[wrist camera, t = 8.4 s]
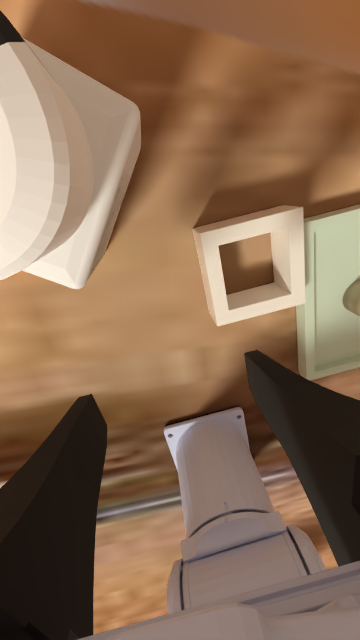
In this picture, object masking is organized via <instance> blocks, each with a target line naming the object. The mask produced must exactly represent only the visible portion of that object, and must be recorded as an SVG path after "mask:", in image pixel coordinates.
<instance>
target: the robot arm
mask: <svg viewBox="0 0 360 640" xmlns="http://www.w3.org/2000/svg"><path fill="white" fill-rule="evenodd" d="M244 354H245V361H246V368H247V375H248V382H249V388H250V390H251V392H252V395H253V397H254V399H255V401H256V403H257V406H258V407H259V409H260V411H261V412H262V414H263V416H264V417H265V419H266V421H267V422H268V424H269V426H270V427H271V429H272V431H273V432H274V434H275V435H276V437H277V439H278V440H279V442H280V444H281V445H282V447H283V449H284V450H285V452H286V454H287V456H288V457H289V459H290V461H291V464H292V466H293V468H294V470H295V472H296V474H297V476H298V478H299V480H300V482H301V484H302V486H303V488H304V491H305V493H306V495H307V497H308V499H309V501H310V503H311V505H312V508H313V510H314V512H315V514H316V516H317V519H318V521H319V523H320V525H321V527H322V530H323V532H324V534H325V536H326V539H327V541H328V543H329V545H330V548H331V550H332V552H333V555H334V557H335V559H336V562H337V564H338V566H339V567H335V568H332V569H328V570H326V568H325V565H324V563H323V561H322V559H321V557H320V556H319V554H318V552H317V550H316V548H315V546H314V544H313V543H312V541H311V539H310V538H309V536H308V535H307V534H306V533H305V532H303V531H302V530H300V529H298V527H297V526H295V525H294V524H292V525H289V526H286V527H285V525H284V522H283V520H282V518H281V515H280V513H279V512H278V511H276V512H275V510H274V508H273V506H272V503H271V501H270V498H269V496H268V494H267V491H266V489H265V486H264V484H263V482H262V479H261V477H260V474H259V472H258V470H257V467H256V465H255V462H254V460H253V458H252V455H251V453H250V448H249V442H248V436H247V430H246V424H245V418H244V413H243V410H242V408H241V407H236V408H232V409H228V410H225V411H221V412H217V413H214V414H210V415H206V416H202V417H199V418H195V419H191V420H188V421H184V422H180V423H176V424H173V425H169V426H166V427H165V428H164V435H165V437H166V440H167V443H168V446H169V448H170V451H171V454H172V457H173V459H174V462H175V465H176V468H177V470H178V476H179V483H180V491H181V499H182V507H183V515H184V523H185V531H186V540H183V541H181V549H182V558H183V559H181V560H177V561H175V563H174V565H173V568H172V571H171V573H170V576H169V579H168V584H167V615H163V616H160V617H156V618H153V619H149V620H145V621H142V622H138V623H135V624H131V625H127V626H124V627H120V628H117V629H113V630H110V631H106V632H102V633H99V634H95V635H93V582H94V551H95V531H96V516H97V505H98V498H99V492H100V485H101V479H102V473H103V467H104V461H105V455H106V448H107V424H106V422H105V420H104V418H103V416H102V414H101V412H100V410H99V408H98V406H97V404H96V402H95V400H94V398H93V395H92V394H90V395H86V396H82V397H79V398H78V399H77V400H76V401H75V403H74V404H73V405H72V406H71V408H70V409H69V410H68V412H67V413H66V414H65V416H64V417H63V418H62V420H61V421H60V422H59V423H58V425H57V426H56V427H55V429H54V430H53V431H52V433H51V434H50V435H49V436H48V437H47V439H46V440H45V441H44V442H43V443H42V445H41V446H40V447H39V448H38V449H37V451H36V452H35V453H34V454H33V455H32V456H31V458H30V459H29V460H28V461H27V462H26V463H25V464H24V465H23V466H22V467H21V468H20V469H19V470H18V471H17V473H16V474H15V475H14V476H13V477H12V478H11V479H10V480H9V481H8V482H7V483H5V484H4V485H3V486H2V487H1V488H0V640H360V400H357V399H354V398H351V397H348V396H345V395H342V394H340V393H337V392H334V391H332V390H330V389H327V388H325V387H322V386H320V385H318V384H316V383H314V382H312V381H310V380H308V379H306V378H304V377H302V376H300V375H298V374H296V373H294V372H292V371H291V370H289V369H287V368H285V367H284V366H282V365H280V364H279V363H277V362H276V361H274V360H272V359H271V358H269V357H268V356H266V355H265V354H263V353H261V352H260V351H258V350H255V351H251V352H247V353H244ZM238 415H240V416H238ZM169 434H170V435H169Z"/></svg>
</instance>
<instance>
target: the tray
mask: <svg viewBox="0 0 360 640" xmlns="http://www.w3.org/2000/svg"><path fill="white" fill-rule="evenodd" d="M303 220H304V261H305V302H306V303H304V304H300V305H297V306H296V319H297V343H298V367H299V373H300V374H301V376H302V377H304V378H306V379H308V380H310V381H311V380H314V379H318V378H322V377H326V376H329V375H333V374H337V373H340V372H344V371H348V370H352V369H355V368H359V367H360V317H359V316H358V315H356V314H354V313H352V312H350V311H349V310H347V309H346V308H345V307H344V305H343V295H344V293H345V291H346V289H347V288H348V287H349V286H350V285H351V284H352V283H354V282H355V281H357V280H360V204H358V205H355V206H351V207H347V208H343V209H339V210H335V211H332V212H328V213H324V214H320V215H316V216H312V217H308V218H305V219H303Z"/></svg>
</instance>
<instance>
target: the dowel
mask: <svg viewBox="0 0 360 640" xmlns="http://www.w3.org/2000/svg"><path fill="white" fill-rule="evenodd" d="M343 305H344V307H345V308H346V309H347V310H349V311H350V312H352V313H354V314H356V315H358V316H359V317H360V280H357V281H355V282H354V283H352V284H351V285H350V286H349V287H348V288H347V289H346V291H345V293H344V295H343Z"/></svg>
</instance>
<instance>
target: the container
mask: <svg viewBox="0 0 360 640" xmlns="http://www.w3.org/2000/svg"><path fill="white" fill-rule="evenodd" d="M140 150H141V119H140V111H139V108H138V106H137V105H136V104H135V103H134V102H132V101H130V100H129V99H127V98H125V97H123V96H122V95H120V94H118V93H117V92H115V91H113V90H111V89H110V88H108V87H106V86H105V85H103V84H101V83H99V82H98V81H96V80H94V79H93V78H91V77H89V76H87V75H86V74H84V73H82V72H81V71H79V70H77V69H76V68H74V67H72V66H70V65H69V64H67V63H65V62H64V61H62V60H60V59H58V58H57V57H55V56H53V55H52V54H50V53H48V52H46V51H45V50H43V49H41V48H40V47H38V46H36V45H34V44H33V43H31V42H29V41H28V40H26V39H24V38H22V37H21V36H20V34H19V33H18V32H17V30H16V29H15V28H14V27H13V25H12V24H11V23H10V21H9V20H8V19H7V17H6V16H5V15H4V14H3V13H2V12H1V11H0V280H2V279H5V278H7V277H9V276H11V275H13V274H16V273H18V272H20V271H21V270H23V271H25V272H28V273H31V274H34V275H37V276H39V277H42V278H45V279H48V280H50V281H53V282H56V283H59V284H62V285H64V286H67V287H70V288H73V289H80V288H82V287H83V286H84V285H85V283H86V282H87V280H88V279H89V277H90V276H91V274H92V273H93V271H94V269H95V268H96V266H97V265H98V263H99V262H100V260H101V259H102V257H103V256H104V254H105V251H106V248H107V245H108V242H109V239H110V237H111V234H112V231H113V228H114V225H115V222H116V219H117V216H118V213H119V210H120V208H121V205H122V202H123V199H124V196H125V193H126V190H127V187H128V184H129V182H130V179H131V176H132V173H133V170H134V167H135V164H136V161H137V158H138V155H139V153H140Z"/></svg>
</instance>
